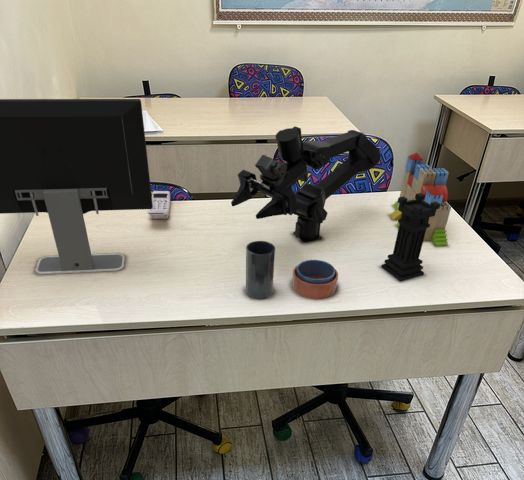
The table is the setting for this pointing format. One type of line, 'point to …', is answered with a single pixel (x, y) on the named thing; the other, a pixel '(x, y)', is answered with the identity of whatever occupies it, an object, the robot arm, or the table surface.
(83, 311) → the table surface
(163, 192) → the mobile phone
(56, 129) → the computer monitor
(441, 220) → the block set
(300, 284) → the stack bottom
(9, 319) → the table surface
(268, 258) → the tumbler
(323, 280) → the stack middle
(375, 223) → the table surface
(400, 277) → the chess piece
